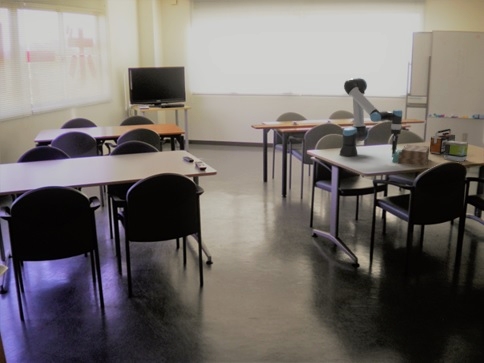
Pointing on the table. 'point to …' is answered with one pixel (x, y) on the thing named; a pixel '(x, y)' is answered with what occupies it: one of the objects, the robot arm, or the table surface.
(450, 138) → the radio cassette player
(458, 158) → the tea box
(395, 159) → the drawer
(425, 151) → the wooden drawer cabinet
